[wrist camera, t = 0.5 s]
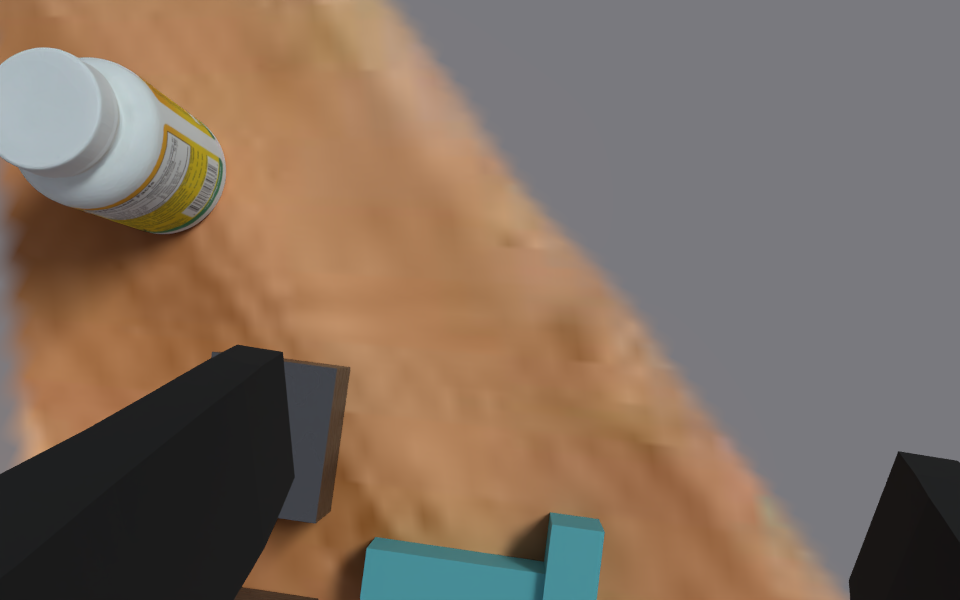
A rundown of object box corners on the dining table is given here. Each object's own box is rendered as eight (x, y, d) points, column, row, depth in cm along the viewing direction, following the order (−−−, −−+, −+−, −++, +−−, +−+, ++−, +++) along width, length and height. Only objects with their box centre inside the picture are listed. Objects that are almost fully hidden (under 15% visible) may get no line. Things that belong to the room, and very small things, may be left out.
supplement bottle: (244, 214, 36) (140, 164, 26) (125, 251, 36) (-20, 215, 26) (210, 96, 36) (97, 4, 27) (93, 133, 36) (-61, 55, 27)
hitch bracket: (297, 746, 34) (280, 777, 32) (179, 727, 35) (152, 756, 32) (350, 367, 35) (337, 368, 33) (234, 351, 35) (212, 351, 33)
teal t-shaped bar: (580, 667, 34) (585, 692, 31) (362, 634, 35) (350, 656, 32) (598, 519, 34) (604, 532, 32) (382, 488, 35) (371, 498, 32)
